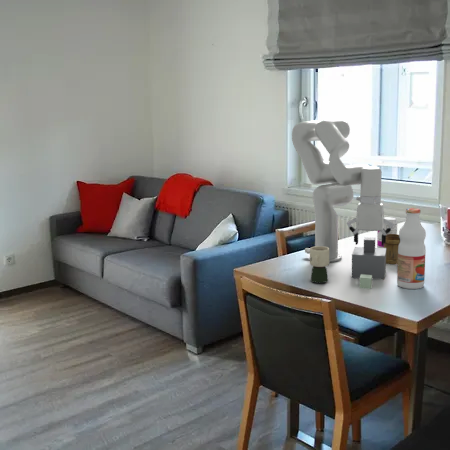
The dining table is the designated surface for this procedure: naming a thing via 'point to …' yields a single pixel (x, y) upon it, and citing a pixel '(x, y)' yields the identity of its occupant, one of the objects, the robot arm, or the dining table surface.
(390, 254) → the wooden mug
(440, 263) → the dining table surface
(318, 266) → the character mug
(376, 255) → the cover
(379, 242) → the supplement can
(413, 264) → the fruit juice
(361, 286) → the block
